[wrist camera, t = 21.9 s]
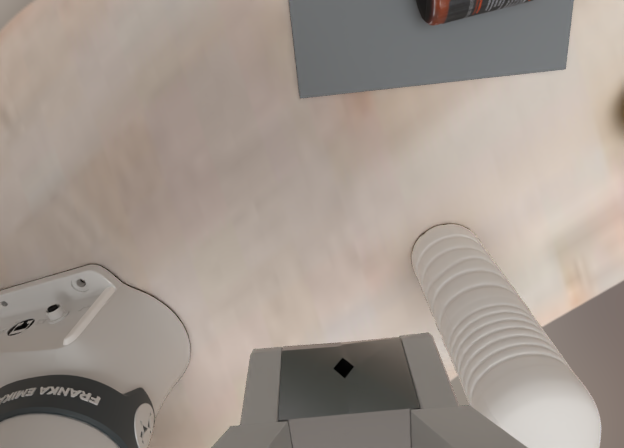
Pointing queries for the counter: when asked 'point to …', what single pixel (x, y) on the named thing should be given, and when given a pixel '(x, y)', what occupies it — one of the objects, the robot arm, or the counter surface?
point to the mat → (421, 44)
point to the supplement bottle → (459, 9)
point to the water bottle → (501, 345)
